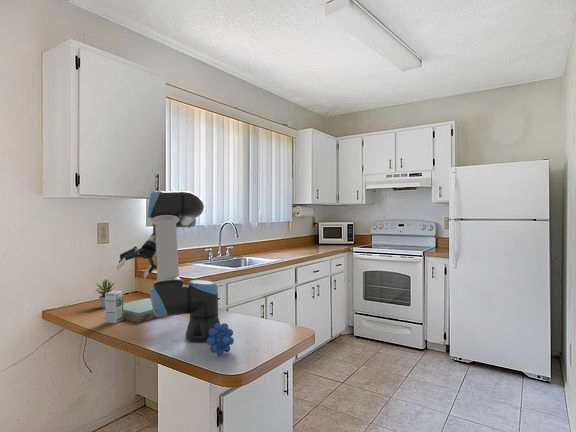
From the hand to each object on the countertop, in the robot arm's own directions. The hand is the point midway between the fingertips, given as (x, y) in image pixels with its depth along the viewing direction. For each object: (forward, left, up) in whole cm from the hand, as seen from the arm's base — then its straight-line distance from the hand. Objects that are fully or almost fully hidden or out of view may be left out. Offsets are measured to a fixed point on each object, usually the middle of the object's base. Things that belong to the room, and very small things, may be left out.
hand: (131, 272), depth 176 cm
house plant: (+42, +6, -24) cm, 49 cm away
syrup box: (+6, +7, -24) cm, 26 cm away
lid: (+11, -8, -21) cm, 25 cm away
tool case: (+11, -8, -24) cm, 28 cm away
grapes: (-67, -16, -24) cm, 73 cm away
